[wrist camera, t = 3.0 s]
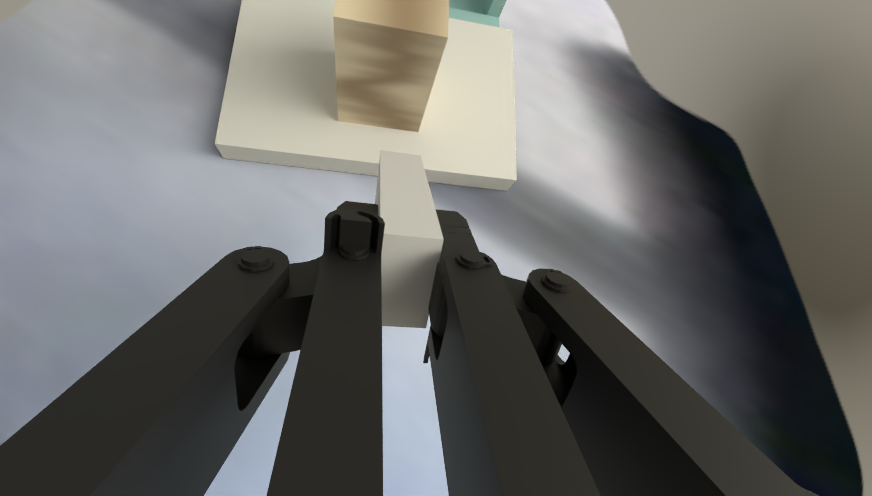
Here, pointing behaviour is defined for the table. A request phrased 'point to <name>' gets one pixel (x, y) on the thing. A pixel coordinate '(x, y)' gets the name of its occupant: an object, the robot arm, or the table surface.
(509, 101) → the cream board
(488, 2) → the box
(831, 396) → the table surface
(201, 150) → the table surface
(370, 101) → the maple block
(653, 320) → the table surface
